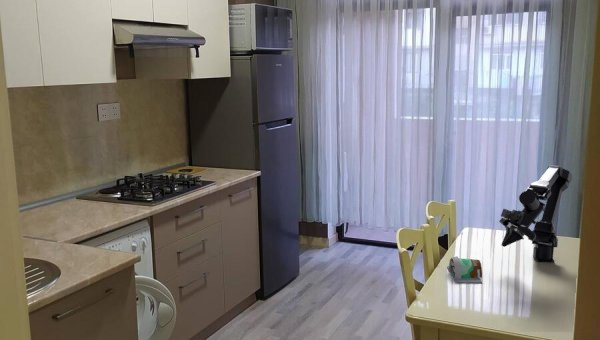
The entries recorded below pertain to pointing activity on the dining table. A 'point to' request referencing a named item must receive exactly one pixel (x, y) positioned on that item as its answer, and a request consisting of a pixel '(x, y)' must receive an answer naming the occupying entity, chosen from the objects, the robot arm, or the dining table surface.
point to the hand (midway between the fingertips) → (502, 245)
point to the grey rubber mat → (464, 280)
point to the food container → (466, 268)
